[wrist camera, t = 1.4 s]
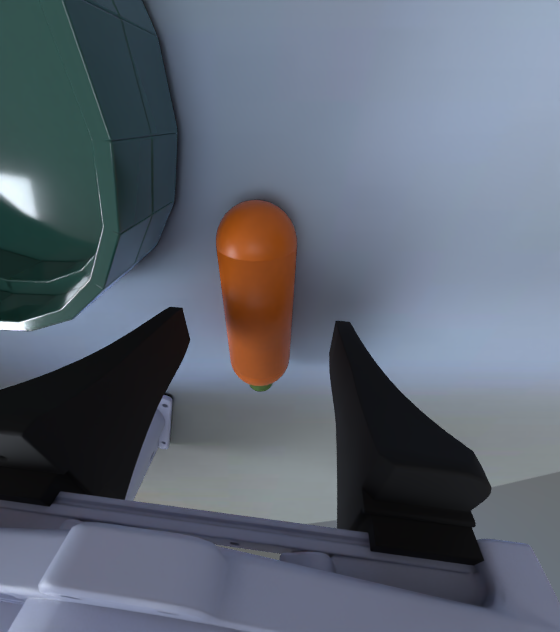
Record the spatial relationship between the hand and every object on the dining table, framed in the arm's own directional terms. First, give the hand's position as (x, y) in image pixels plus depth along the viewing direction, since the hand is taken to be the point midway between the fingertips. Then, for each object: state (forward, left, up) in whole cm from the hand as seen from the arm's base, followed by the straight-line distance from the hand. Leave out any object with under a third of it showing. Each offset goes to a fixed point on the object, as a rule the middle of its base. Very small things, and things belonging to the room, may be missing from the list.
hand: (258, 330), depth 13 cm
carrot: (0, 0, -4) cm, 4 cm away
